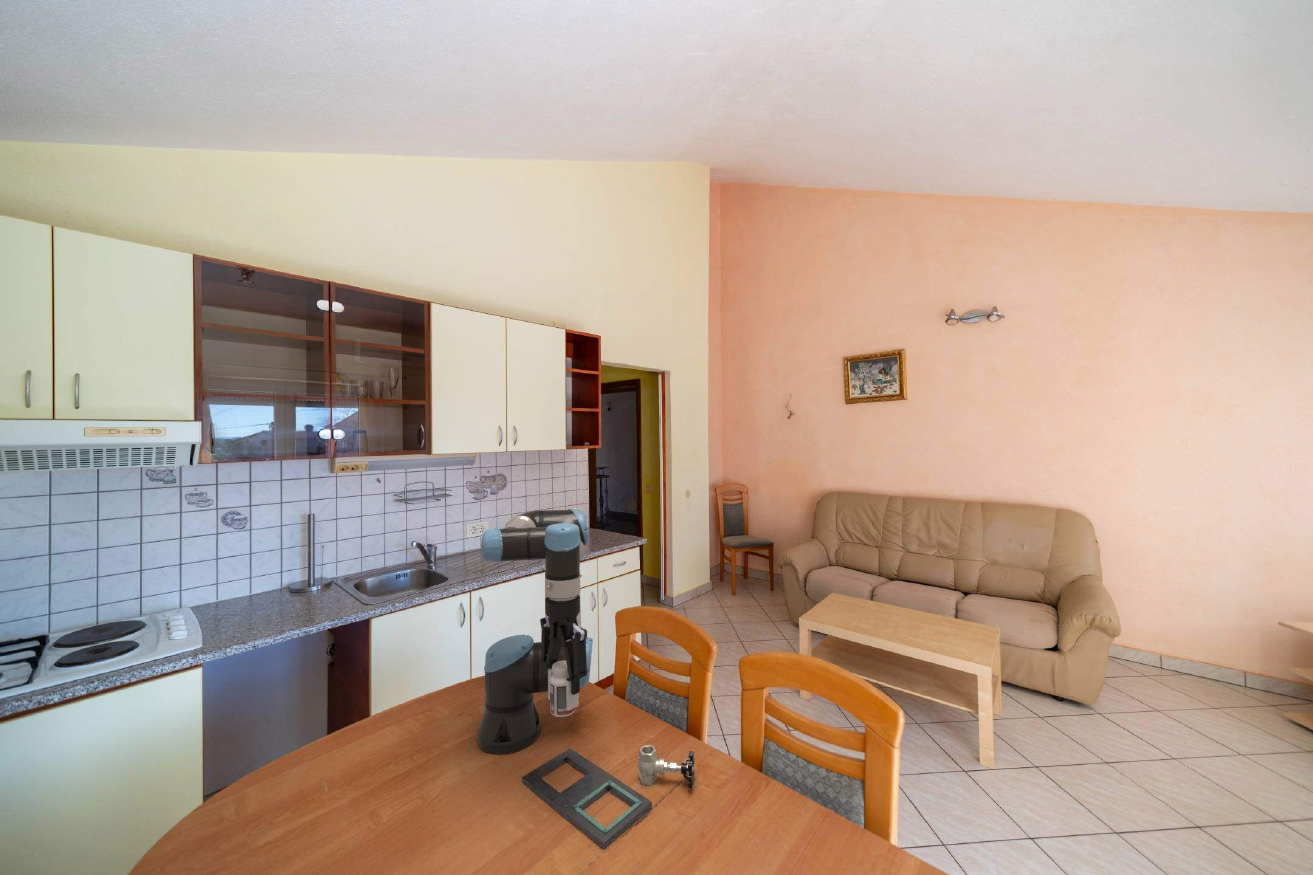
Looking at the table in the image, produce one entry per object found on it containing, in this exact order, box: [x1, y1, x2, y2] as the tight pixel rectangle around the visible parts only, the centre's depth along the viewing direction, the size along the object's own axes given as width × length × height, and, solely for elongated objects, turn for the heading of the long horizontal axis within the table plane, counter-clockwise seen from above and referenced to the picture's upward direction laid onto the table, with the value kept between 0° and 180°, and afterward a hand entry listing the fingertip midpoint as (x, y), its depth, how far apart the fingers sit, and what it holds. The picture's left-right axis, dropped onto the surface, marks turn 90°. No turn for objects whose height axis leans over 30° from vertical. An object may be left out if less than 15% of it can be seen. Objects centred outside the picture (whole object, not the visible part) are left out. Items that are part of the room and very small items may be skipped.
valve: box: [637, 744, 696, 789], centre depth 103 cm, size 7×7×12 cm
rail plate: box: [521, 747, 653, 850], centre depth 99 cm, size 26×13×1 cm, turn 49°
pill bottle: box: [549, 660, 577, 718], centre depth 104 cm, size 6×6×10 cm
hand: (563, 701), depth 104 cm, fingers closed on pill bottle, 6 cm apart
